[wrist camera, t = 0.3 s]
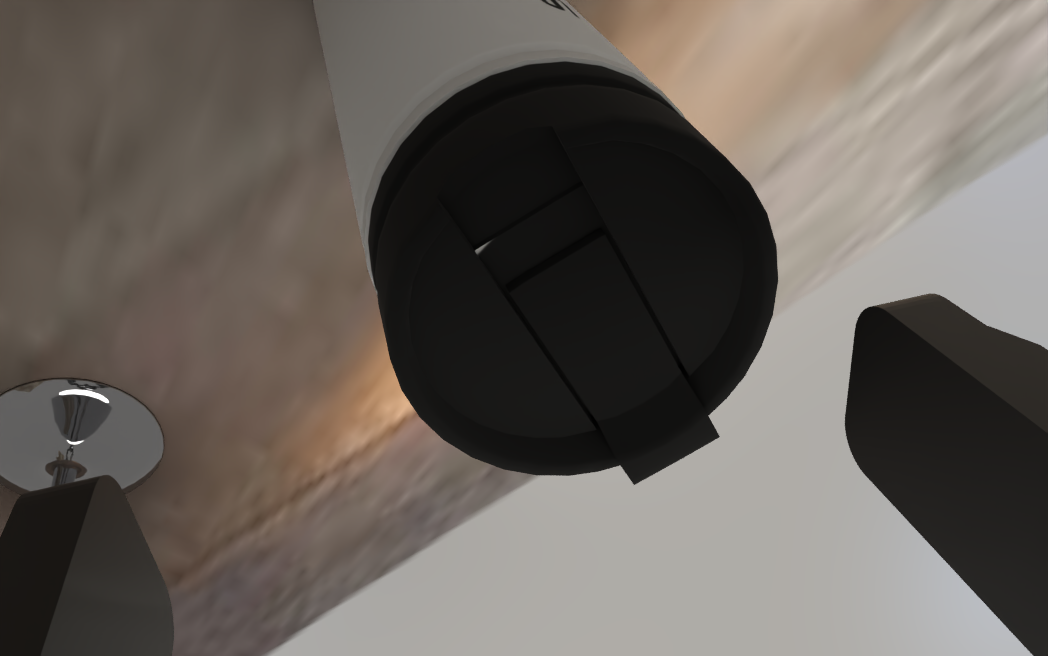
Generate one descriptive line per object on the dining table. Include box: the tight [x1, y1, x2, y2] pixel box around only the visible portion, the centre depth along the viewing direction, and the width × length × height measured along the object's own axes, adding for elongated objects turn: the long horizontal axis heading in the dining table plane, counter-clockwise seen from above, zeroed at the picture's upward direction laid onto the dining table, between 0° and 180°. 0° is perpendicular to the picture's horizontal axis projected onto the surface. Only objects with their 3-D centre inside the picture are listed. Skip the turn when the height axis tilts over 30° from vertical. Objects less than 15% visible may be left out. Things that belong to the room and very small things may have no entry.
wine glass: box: [0, 378, 164, 495], centre depth 29 cm, size 8×8×15 cm
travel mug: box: [313, 0, 778, 485], centre depth 20 cm, size 6×7×20 cm
